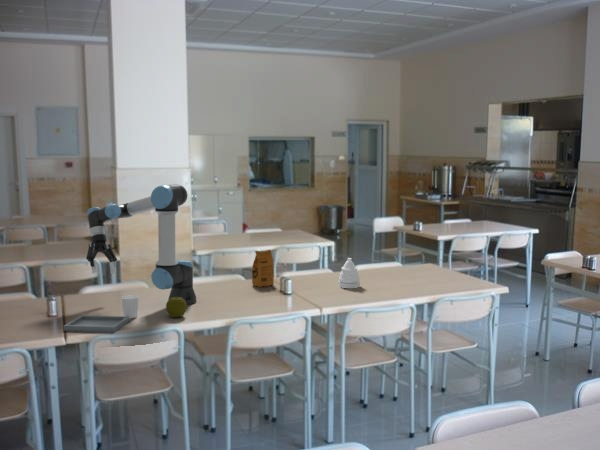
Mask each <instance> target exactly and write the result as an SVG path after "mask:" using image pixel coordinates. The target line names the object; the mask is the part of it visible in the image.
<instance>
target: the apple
mask: <svg viewBox="0 0 600 450" xmlns="http://www.w3.org/2000/svg"><path fill="white" fill-rule="evenodd" d="M165 307H166V313H167V314H168V316H169V317H171V318H181V317H183V316H184V315H185V313H186V311H187V307H188V306H187V304H186V302H185V300H184V299H183V298H181V297H173V298H170V299H169V300H167V302H166V305H165Z"/></svg>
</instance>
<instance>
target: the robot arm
mask: <svg viewBox="0 0 600 450" xmlns="http://www.w3.org/2000/svg"><path fill="white" fill-rule="evenodd" d="M187 199H188V191H187V189H186V188H185V187H184V186H183V185H181V184H179V183H178V184H177V183H174V184H164V185H163V184H162V185H158V186H155V188H153V190H152V192H151V194H150V196H147V197H144V198H143V197H142V198H140V199H137V200H134V201H133V200H132V201H130V202H126V203H123V204H116V203H112V204H109V205H106V206H105V207H103V208H101V207H98V206H94V207H91V208H90V207H89V208H88V210H87V219H88V221H87V222H88V225H89V233H90V236H91V242H90V243H88V249H87V254H86V260H87V262H89V264H90V268H91V272H92V274H96V273H98V267H97V261H96V260H95V259H96V257H97V255H98V253H102V254H103V255H104V256H105V257H106V258H107V260H108V261H109V263H108V264H109V270H110V275H115V274H116V263H115V262H116V261H118V259H117V255H116V254H115V252H114V251H113V248H112V246H111V244H110V243H109V244H106V242H107V236H106V230H105V225H104V223H106V222H109V221H112V220H118V219H125V218H126V219H127V218H130V217H131V218H132V217H133V216H136V215H139V214H144V213H147V212H151V211H154V210H155V213H157V215H158V216H157V221H158V224H157V229H158V233H157V236H158V260H157V261H156V262H155V268H154V270H153V271H152V272H151V275H150V276H151V278H150V279H151V282H152V284H153V285H154V286H155V287H156V288H157V289H159V290H169V289H170V293H169V295H168V300H169V299H170V298H173V297H181V298H183V299H184V300H185V302H186V304H187V305H192V304H195V303H196V302H197V295H196V292H195V290H194V289H195V288H194V277H193V276H194V273H193V272H194V271H193V269H194V267H193V263H192V261H191V260H181V259H176V215H177V213H178V212H179V207H180V206H182V205H183V204H185V203H186V201H187ZM168 300H167V301H168Z"/></svg>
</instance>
